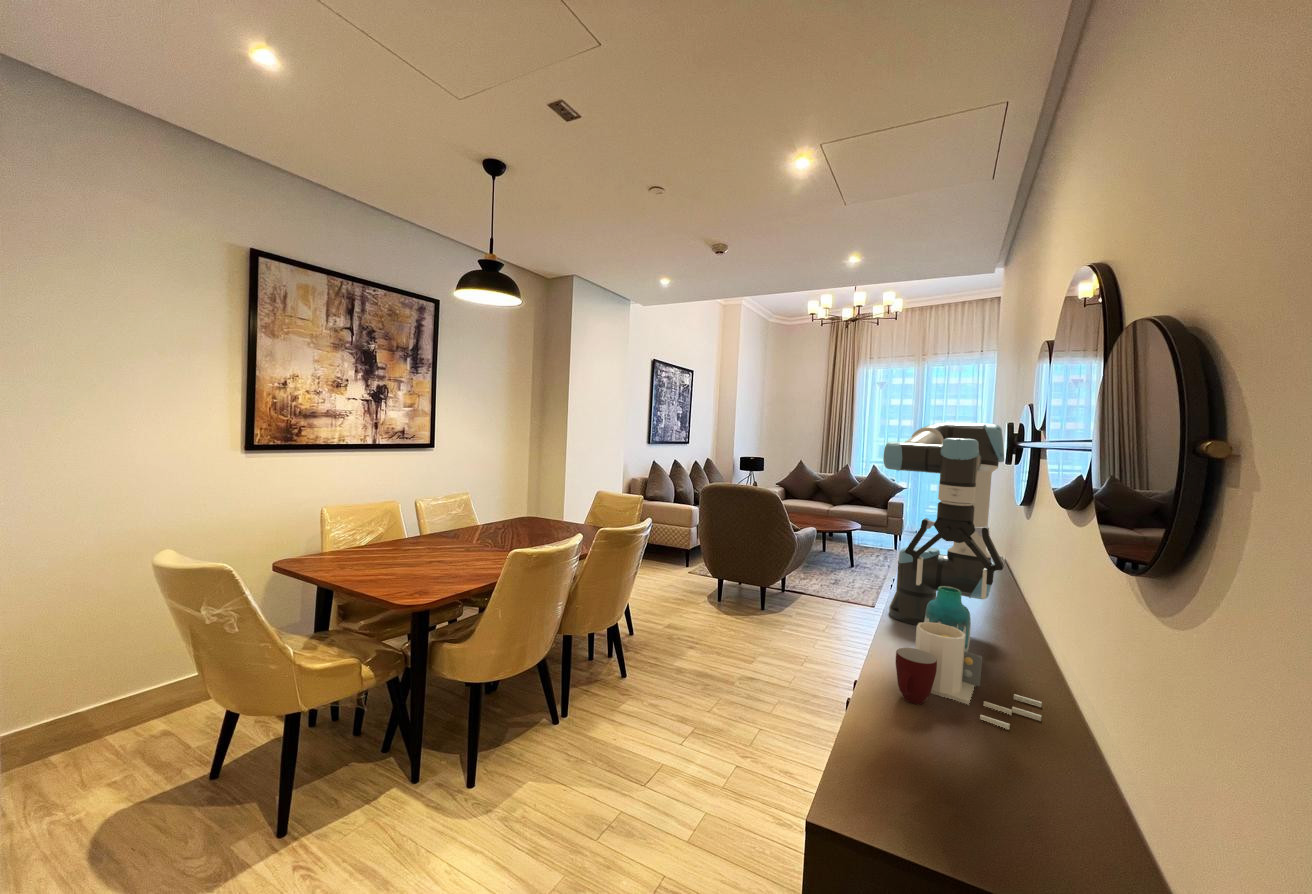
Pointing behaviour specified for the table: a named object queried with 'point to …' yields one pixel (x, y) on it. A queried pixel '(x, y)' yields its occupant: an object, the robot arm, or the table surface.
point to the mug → (915, 674)
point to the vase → (949, 611)
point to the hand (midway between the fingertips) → (950, 590)
